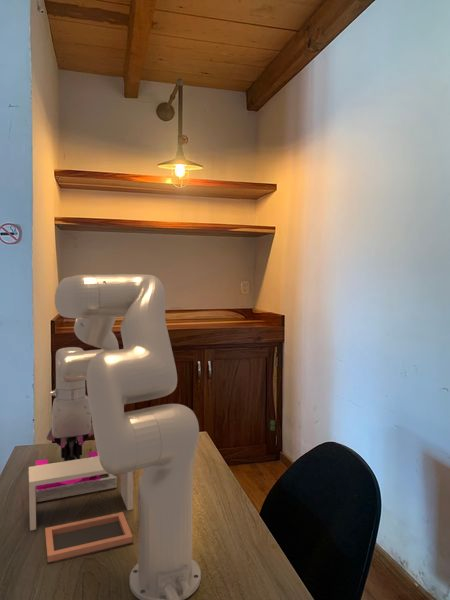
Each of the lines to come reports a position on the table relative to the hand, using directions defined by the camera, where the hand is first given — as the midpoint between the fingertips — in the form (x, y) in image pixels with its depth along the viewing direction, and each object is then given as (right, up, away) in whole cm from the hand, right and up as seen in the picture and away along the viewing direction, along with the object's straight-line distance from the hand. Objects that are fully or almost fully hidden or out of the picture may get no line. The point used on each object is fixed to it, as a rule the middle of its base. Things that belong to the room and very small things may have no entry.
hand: (71, 458), depth 124 cm
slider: (+3, -3, -6) cm, 7 cm away
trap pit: (+14, -5, -32) cm, 35 cm away
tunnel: (+9, -5, -21) cm, 23 cm away
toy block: (+3, -4, -10) cm, 12 cm away
